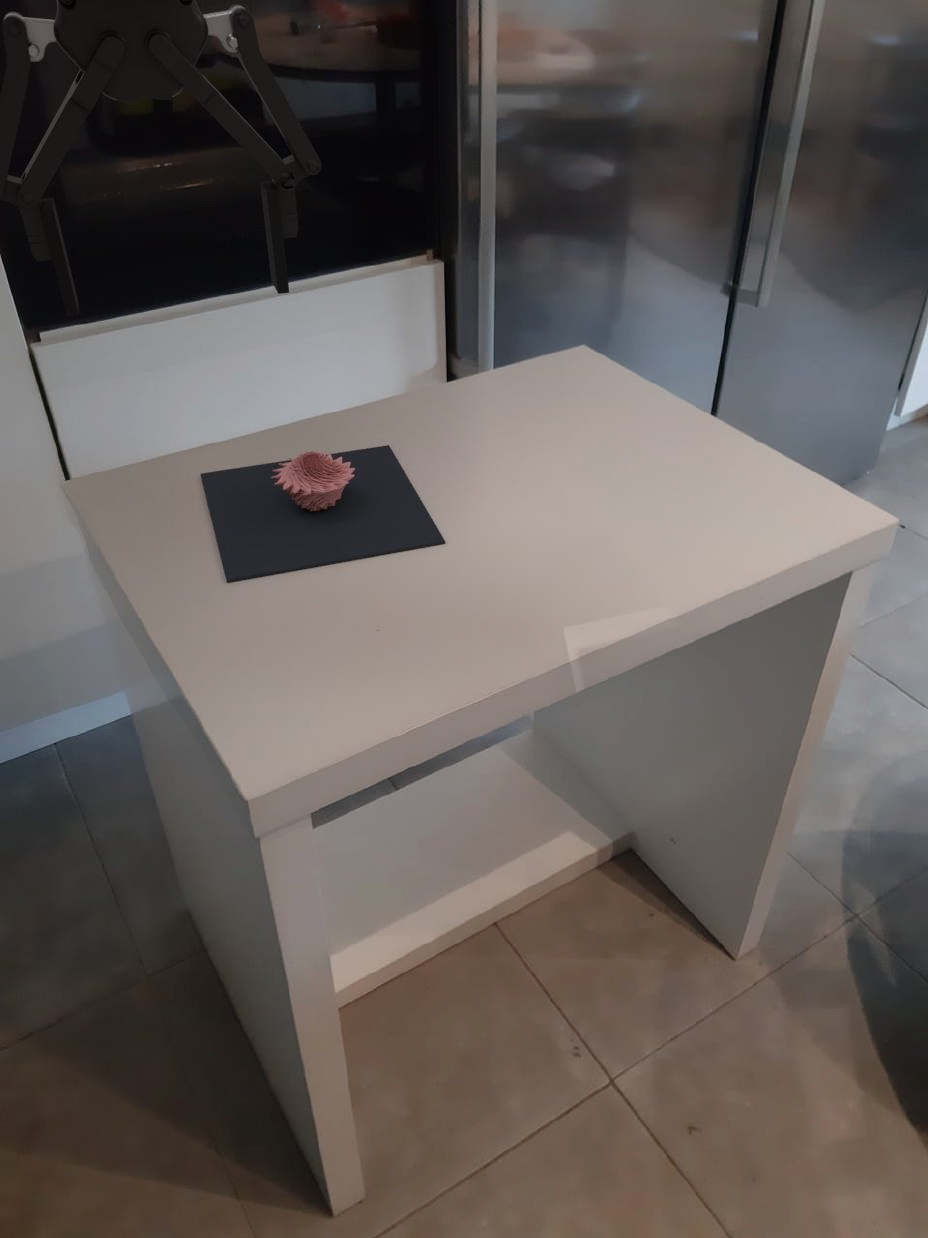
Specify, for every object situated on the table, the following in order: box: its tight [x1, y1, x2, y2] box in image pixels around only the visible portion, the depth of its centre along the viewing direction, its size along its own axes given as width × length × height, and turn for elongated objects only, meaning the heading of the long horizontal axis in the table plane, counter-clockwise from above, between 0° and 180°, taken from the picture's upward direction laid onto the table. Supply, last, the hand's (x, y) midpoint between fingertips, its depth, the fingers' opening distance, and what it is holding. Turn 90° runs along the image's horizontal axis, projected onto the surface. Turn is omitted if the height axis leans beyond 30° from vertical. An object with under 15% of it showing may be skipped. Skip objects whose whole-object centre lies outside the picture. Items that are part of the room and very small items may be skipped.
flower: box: [271, 450, 355, 511], centre depth 94 cm, size 8×8×6 cm
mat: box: [200, 444, 446, 584], centre depth 96 cm, size 20×20×1 cm
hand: (179, 298), depth 66 cm, fingers open, 13 cm apart
